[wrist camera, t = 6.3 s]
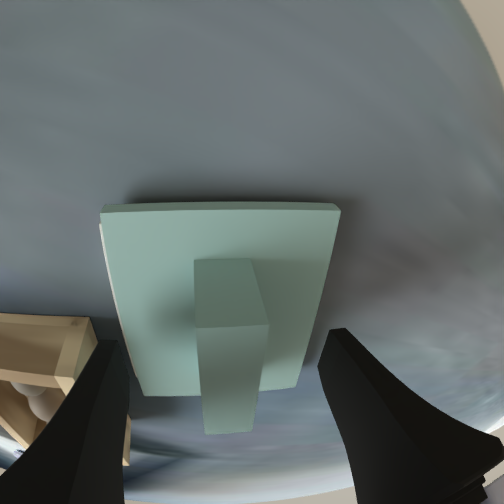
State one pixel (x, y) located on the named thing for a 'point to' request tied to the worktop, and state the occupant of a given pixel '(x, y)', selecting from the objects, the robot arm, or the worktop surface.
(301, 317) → the lid
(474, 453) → the robot arm
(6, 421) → the box
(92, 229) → the worktop surface
